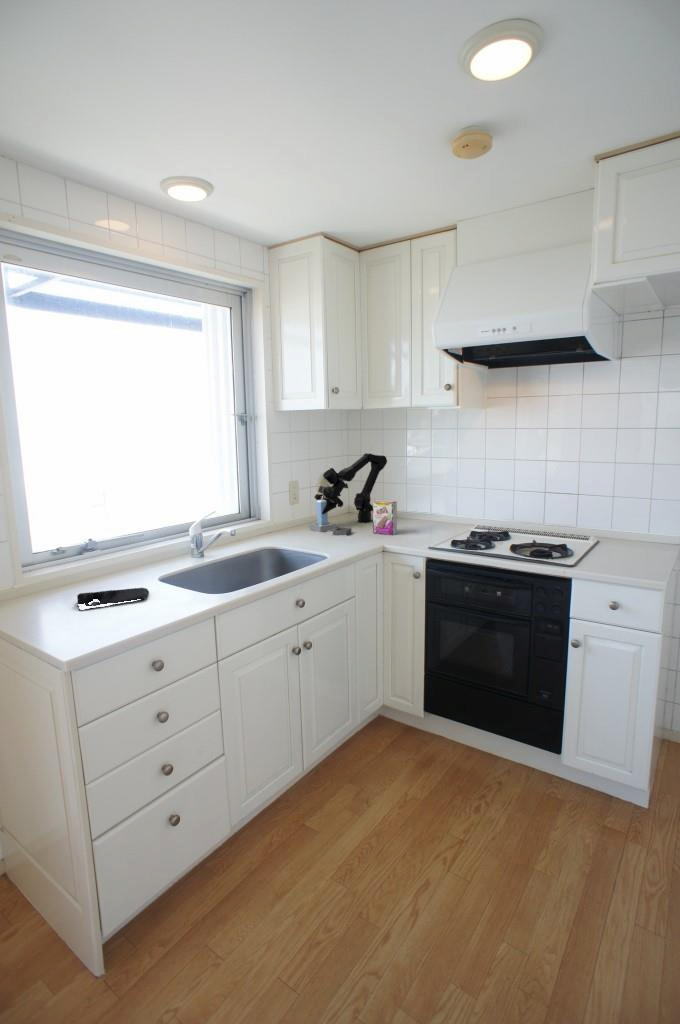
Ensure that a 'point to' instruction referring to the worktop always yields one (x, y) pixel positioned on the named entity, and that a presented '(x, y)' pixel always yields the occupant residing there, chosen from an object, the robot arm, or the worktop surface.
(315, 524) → the port
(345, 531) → the holster
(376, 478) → the robot arm
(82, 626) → the worktop surface
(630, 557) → the worktop surface
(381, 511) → the candy bar box
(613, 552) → the worktop surface
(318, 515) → the light blue tall block
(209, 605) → the worktop surface
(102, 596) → the dark slate chunk
